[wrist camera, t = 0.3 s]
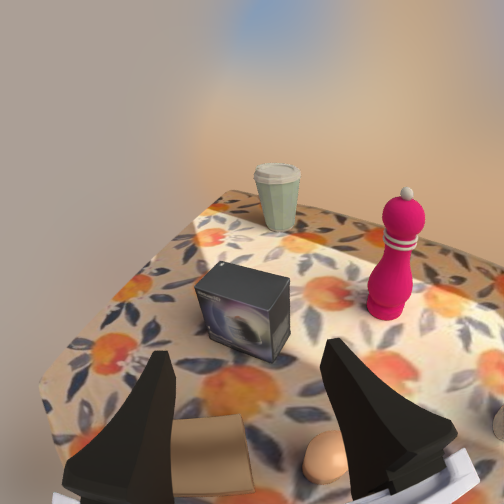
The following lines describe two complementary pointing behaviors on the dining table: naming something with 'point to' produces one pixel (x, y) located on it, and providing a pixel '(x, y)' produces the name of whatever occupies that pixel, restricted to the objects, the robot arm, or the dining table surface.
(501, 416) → the house plant
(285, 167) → the disposable coffee cup
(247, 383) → the dining table surface
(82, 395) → the dining table surface
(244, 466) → the tan square base block
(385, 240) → the pepper mill
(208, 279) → the small box
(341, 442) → the peach domed cylinder
